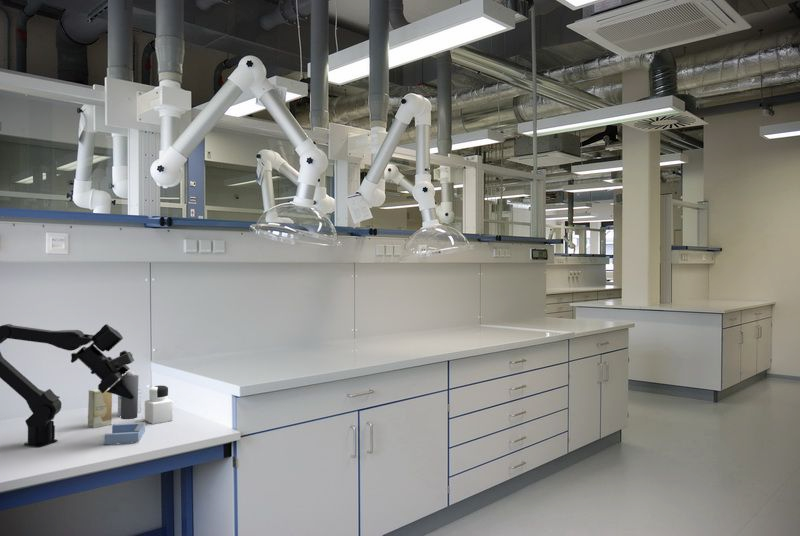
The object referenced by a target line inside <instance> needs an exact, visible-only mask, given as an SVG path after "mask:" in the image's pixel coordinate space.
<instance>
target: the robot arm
mask: <svg viewBox="0 0 800 536" xmlns="http://www.w3.org/2000/svg"><path fill="white" fill-rule="evenodd" d="M8 339H10V340H17V341H25V342H34V343H42V344H48V345H51V346H54V347H56V348H58V349H62V350H64V351H76V350H78V349H79V348H80V349H79V350H78V351H77V352H73V353H70V357H71V359H70V362H71V363H75V362H77V361H78V360H79V361H80V362H81V363H82V364H83V365H84V366H86V367H87V368H88V369H89V370H90V374H92V375H95V376H97V377H98V378H99V379H100V382H99V384H98V385H97V389H98V390H100V391H101V392H102V393H104V392H105V391H106V390H107V389H108V388H109V390H108V391H107V393H108V392H109V393H112V395H116V396H118V395H119V396H122V397H125V398H128V399H133V398H134V396H133V395H132V393H131V392H130V391H129V389H128V388H127V387H126V385H125V384H124V376H125V375H126V372H129V370H131V369H130V367H129V366H128V365H129V364H132V363H133V362H134V361H135V358H134V357H133V353H131V351H127V350H123V351H120V352H119V356H117V357H114V358H112V357H111V356H106V355H105V354H104V353H103V352H105V351H106V352H110V351H111V350H112V349H113V348H115V346H117V345H118V344H119V343H120V342H121V341H122V340H123V339H124V338H123V336H122V334H121V333H120V332H119V331H118V330H117V329H115V328H113V327H111V326H110V325H109V324H108V323H107V324H104V325H103V326H101V328H100V329H99V330H98V331H97V332H96V333H95V334H94V335H93V334H87V333H84V332H83V331H82V330H79V329H63V330H49V329H43V328H35V327H29V326H28V327H27V326H22V325H21V326H20V325H13V324H11V323H5V324H3V325H0V345H1V344H2V343H4V341H6V340H8ZM90 343H91V344H90ZM88 344H90V345H89V346H87V347H86V345H88ZM81 347H82V348H81ZM122 376H123V377H122ZM0 379H1V380H2V381H3V382H4V383H5V384H7V385H8V386H9V387H10V388H11V389H12V390H14V392H15V393H16V394H18V395H19V396H20V397H21V398H23V399H24V400H25V401H26V404H27V406H28V408H29V410H30V411H31V412H32V414H31V415H30V416H29V417H28V418H27V419H26V420H25V424H26V426H27V441H26V442H24V443H23V445H24V446H29V447H35V448H41V447H44V446H47V445H51V444H53V443H57V442H58V439H55V437H56V433H55V432H56V429H55V427H56V426H55V424H54V423H55V421H54V419H55V417H56V416H57V415H58V414H59V412H60V411H61V409H62V402H61V400H60V396H58V395H57V394H55V393H54V391H53V390H51V388H49V389H46V390H42V389H40V388H38V387H37V386H36V385H35V384H34V383H32V381H31V380H29V379H28V378H27V377H26V376H25V375H23V374H22V373H21V372H20V371H19V370H18V369H17V368H16V367H15V366H13V365H12V364H11V363H10V362H9V361H7V360H6V359H5V358H4V356H3V355H2V353H1V351H0Z"/></svg>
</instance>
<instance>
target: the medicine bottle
mask: <svg viewBox="0 0 800 536" xmlns="http://www.w3.org/2000/svg"><path fill="white" fill-rule="evenodd" d="M148 393H149V399H145V400H144V421H146V422H147V423H150V424H152V425H155V424H161V423H166V422H171V421H173V420H174V410H173V409H174V406H173V405H174V401H173V400H172V399H170V398H169V387H168V386H166V385H154V386H151V387H149V392H148Z"/></svg>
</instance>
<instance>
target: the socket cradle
mask: <svg viewBox="0 0 800 536" xmlns="http://www.w3.org/2000/svg"><path fill="white" fill-rule="evenodd" d="M111 427H112V428H111V429H112V431H111V432H110V433H104V437H103V438H104V442H103V443H104V444H112V445H118V444H117V443H126V444H132V443H131V442H138V443H140V441H139V440H141V439H142V438H143V435H144V434H145V432H146V422H130V423H129V422H128V423H114V424H111Z"/></svg>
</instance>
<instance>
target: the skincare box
mask: <svg viewBox="0 0 800 536" xmlns="http://www.w3.org/2000/svg"><path fill="white" fill-rule="evenodd" d="M109 389H110V388H108V389H107V390H106V391H105V392H104V393H102V392H101V391H100V390H98V388H95V389H88V400H87V401H88V403H87V405H88V410H87V426H88V427H90V428H93V429H96V428H99V427H104V426H105V425H106V426H110V424H111V425H112V418H113V417H112V415H113V414H112V412H113V411H112V410H113V409H112V407H113V394H112V393H109V392H108V393H107V391H108V390H109Z"/></svg>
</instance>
